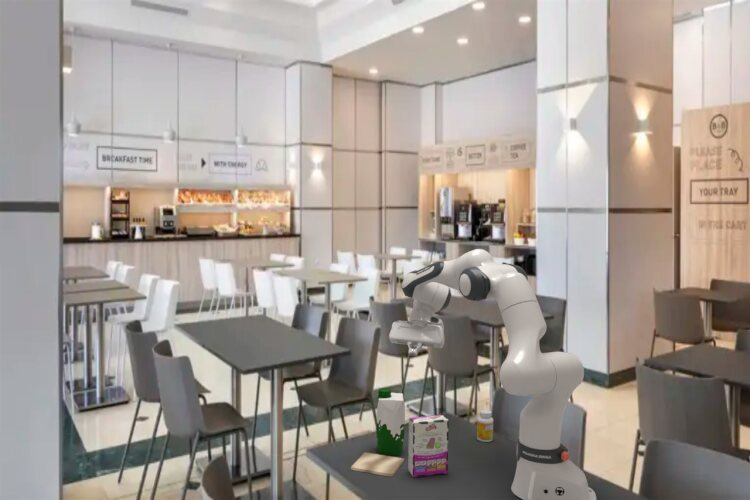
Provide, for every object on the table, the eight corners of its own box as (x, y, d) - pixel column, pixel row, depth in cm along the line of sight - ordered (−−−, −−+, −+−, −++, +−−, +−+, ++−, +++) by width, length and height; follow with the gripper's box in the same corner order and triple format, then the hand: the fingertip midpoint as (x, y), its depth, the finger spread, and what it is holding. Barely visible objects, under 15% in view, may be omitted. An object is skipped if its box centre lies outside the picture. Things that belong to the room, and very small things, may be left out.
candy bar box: (441, 467, 183) (443, 414, 182) (448, 474, 178) (449, 419, 177) (406, 470, 180) (408, 416, 179) (412, 477, 175) (413, 422, 174)
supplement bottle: (473, 437, 208) (474, 409, 207) (487, 435, 210) (488, 408, 209) (481, 442, 203) (482, 414, 202) (495, 441, 204) (496, 413, 204)
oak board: (403, 461, 187) (404, 458, 187) (392, 476, 175) (392, 474, 175) (364, 454, 191) (364, 452, 191) (350, 469, 180) (350, 467, 179)
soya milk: (376, 445, 199) (377, 385, 198) (403, 446, 199) (405, 386, 197) (375, 456, 190) (377, 393, 189) (404, 456, 190) (405, 394, 189)
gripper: (392, 315, 225) (383, 346, 216) (446, 320, 218) (438, 352, 210) (395, 324, 229) (386, 355, 221) (448, 329, 223) (441, 362, 214)
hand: (412, 354), depth 215 cm, fingers closed
